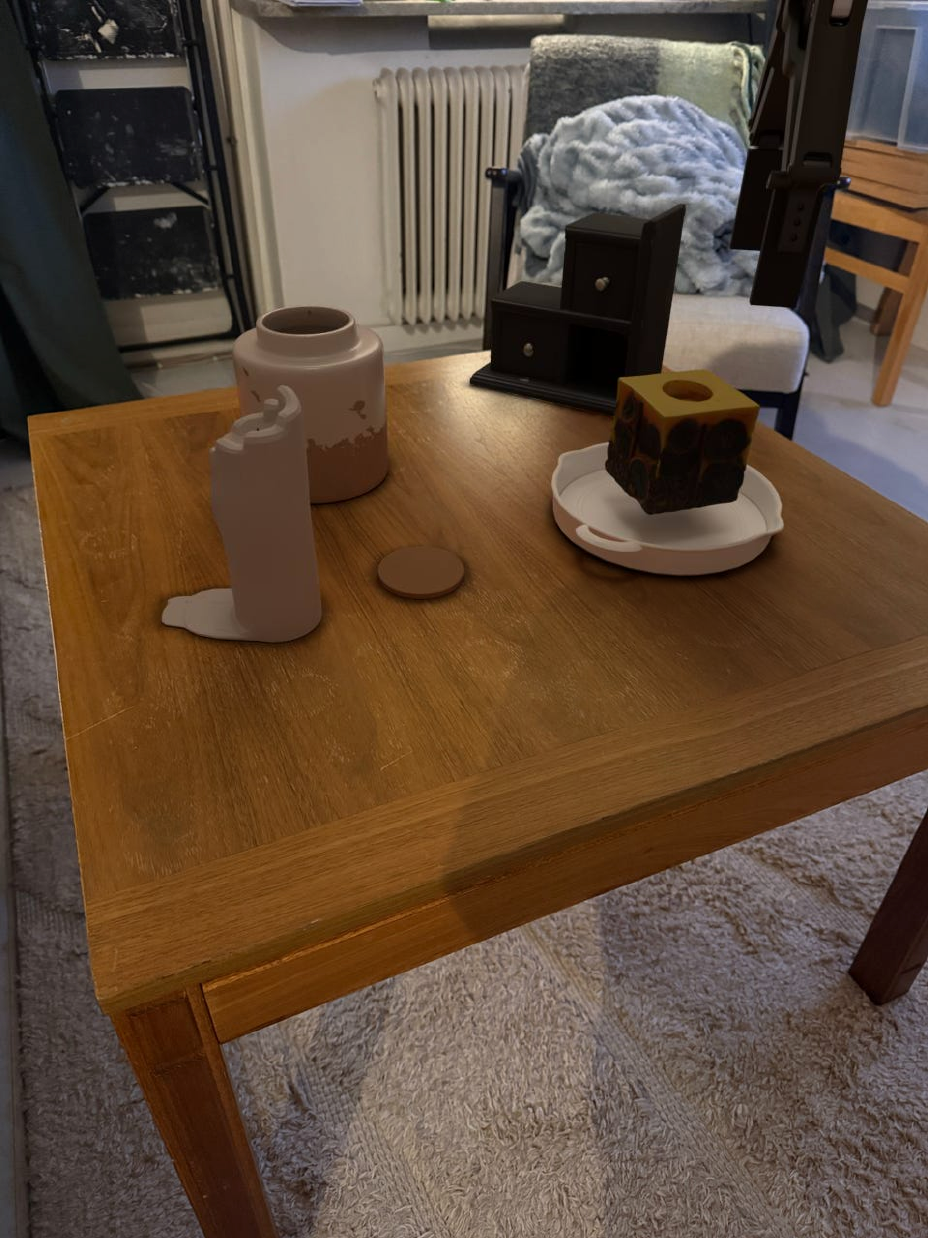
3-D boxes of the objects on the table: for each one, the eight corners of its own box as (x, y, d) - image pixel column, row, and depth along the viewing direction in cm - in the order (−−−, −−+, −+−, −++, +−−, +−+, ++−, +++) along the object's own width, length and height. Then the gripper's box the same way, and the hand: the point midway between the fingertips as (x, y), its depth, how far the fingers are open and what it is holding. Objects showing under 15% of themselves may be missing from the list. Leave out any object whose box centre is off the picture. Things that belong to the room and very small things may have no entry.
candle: (646, 518, 81) (664, 418, 75) (600, 470, 89) (613, 376, 83) (740, 503, 84) (764, 406, 78) (688, 458, 91) (706, 366, 85)
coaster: (470, 555, 83) (470, 550, 82) (456, 603, 76) (456, 598, 76) (388, 547, 83) (388, 541, 83) (368, 594, 77) (368, 588, 77)
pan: (819, 507, 91) (829, 473, 89) (714, 629, 74) (724, 591, 72) (616, 442, 103) (620, 411, 101) (483, 535, 85) (485, 500, 83)
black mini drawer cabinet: (467, 385, 116) (472, 194, 102) (504, 360, 124) (513, 180, 110) (630, 424, 107) (660, 221, 93) (659, 395, 115) (691, 203, 101)
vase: (224, 465, 96) (199, 314, 86) (339, 430, 104) (329, 287, 94) (295, 520, 87) (277, 358, 77) (416, 476, 95) (413, 324, 85)
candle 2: (175, 586, 77) (128, 370, 65) (329, 595, 77) (309, 378, 65) (147, 636, 72) (90, 408, 60) (312, 645, 71) (288, 417, 59)
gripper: (751, -123, 56) (692, 228, 69) (817, -177, 36) (717, 330, 49) (871, -122, 55) (789, 233, 68) (1006, -175, 35) (854, 340, 48)
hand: (759, 275), depth 58 cm, fingers open, 13 cm apart
